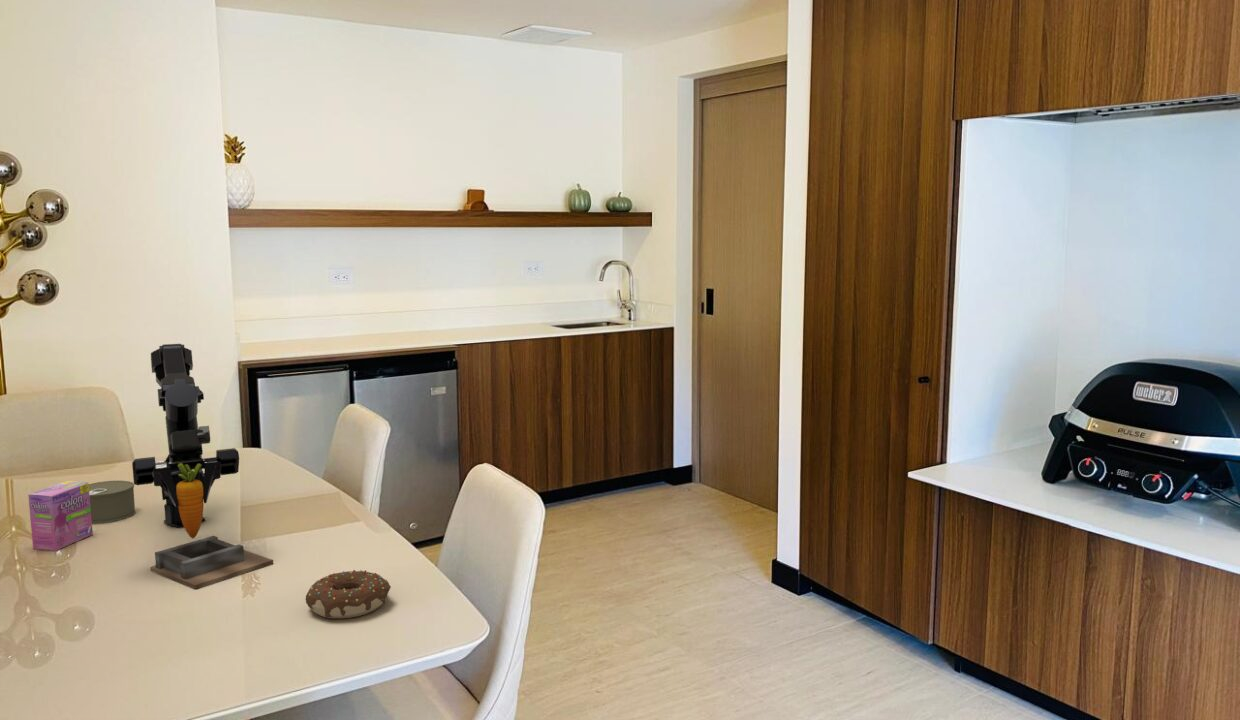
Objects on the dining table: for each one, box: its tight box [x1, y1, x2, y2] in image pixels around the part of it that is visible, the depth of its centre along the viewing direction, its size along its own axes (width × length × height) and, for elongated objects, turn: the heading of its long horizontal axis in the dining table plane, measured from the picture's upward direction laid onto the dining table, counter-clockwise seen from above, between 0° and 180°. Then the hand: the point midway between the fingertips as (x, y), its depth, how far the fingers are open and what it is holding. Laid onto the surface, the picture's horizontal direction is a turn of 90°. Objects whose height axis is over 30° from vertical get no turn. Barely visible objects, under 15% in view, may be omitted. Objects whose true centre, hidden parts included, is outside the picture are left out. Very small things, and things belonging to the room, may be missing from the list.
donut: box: [305, 569, 392, 619], centre depth 163 cm, size 14×14×5 cm
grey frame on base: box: [149, 535, 274, 590], centre depth 182 cm, size 16×16×4 cm
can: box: [89, 480, 136, 525], centre depth 214 cm, size 12×12×7 cm
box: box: [27, 480, 94, 552], centre depth 196 cm, size 10×6×12 cm, turn 168°
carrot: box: [176, 463, 205, 539], centre depth 179 cm, size 5×5×15 cm
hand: (191, 504), depth 178 cm, fingers closed on carrot, 5 cm apart
